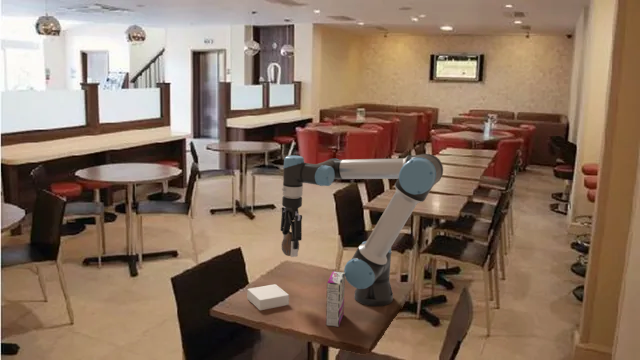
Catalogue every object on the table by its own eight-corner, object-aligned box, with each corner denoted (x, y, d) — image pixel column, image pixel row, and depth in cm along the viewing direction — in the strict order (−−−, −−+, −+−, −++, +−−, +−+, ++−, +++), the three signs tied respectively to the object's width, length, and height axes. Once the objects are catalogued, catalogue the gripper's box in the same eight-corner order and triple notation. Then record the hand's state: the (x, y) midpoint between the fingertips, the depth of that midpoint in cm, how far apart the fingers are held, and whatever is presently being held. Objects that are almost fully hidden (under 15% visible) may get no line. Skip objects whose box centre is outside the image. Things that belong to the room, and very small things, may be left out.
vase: (301, 253, 228) (302, 231, 227) (295, 258, 222) (296, 236, 220) (285, 250, 230) (285, 229, 229) (278, 255, 224) (279, 234, 222)
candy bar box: (330, 312, 215) (332, 270, 211) (344, 314, 214) (345, 272, 210) (324, 325, 204) (326, 282, 201) (338, 327, 203) (340, 283, 200)
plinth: (288, 304, 221) (288, 294, 220) (259, 310, 215) (259, 300, 214) (275, 293, 231) (275, 284, 230) (247, 298, 225) (247, 288, 224)
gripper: (273, 191, 228) (271, 246, 233) (294, 203, 211) (291, 262, 216) (290, 189, 232) (288, 244, 236) (312, 201, 215) (309, 260, 219)
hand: (289, 253), depth 226 cm, fingers closed on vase, 7 cm apart
